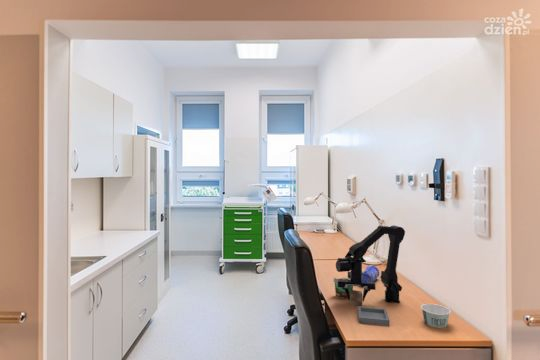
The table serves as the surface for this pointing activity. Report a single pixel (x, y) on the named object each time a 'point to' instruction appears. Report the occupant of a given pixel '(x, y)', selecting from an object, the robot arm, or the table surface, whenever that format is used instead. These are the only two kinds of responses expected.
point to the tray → (373, 315)
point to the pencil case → (370, 274)
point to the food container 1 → (340, 291)
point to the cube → (355, 298)
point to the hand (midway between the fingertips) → (356, 300)
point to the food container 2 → (435, 315)
